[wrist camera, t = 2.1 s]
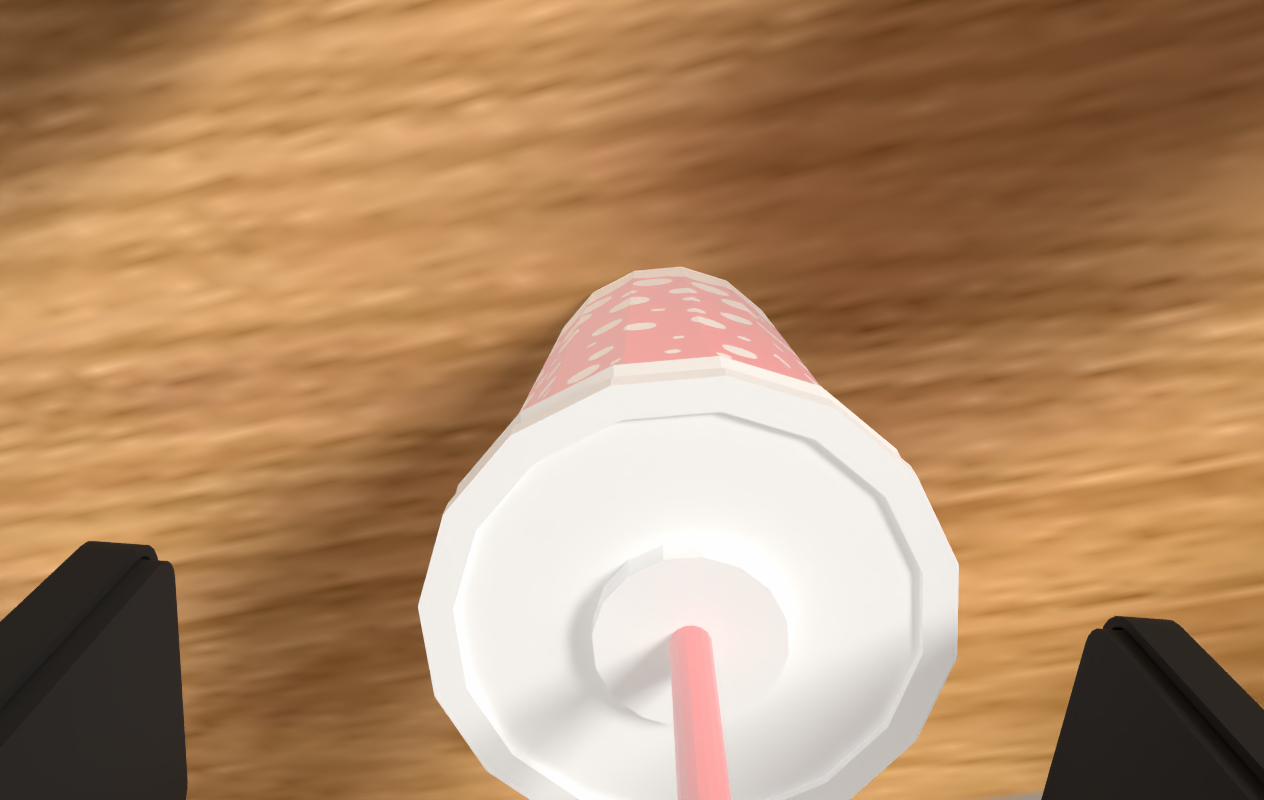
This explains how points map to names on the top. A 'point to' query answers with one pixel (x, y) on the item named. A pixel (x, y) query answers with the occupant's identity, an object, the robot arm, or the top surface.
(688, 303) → the beverage cup
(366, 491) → the top surface
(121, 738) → the robot arm
